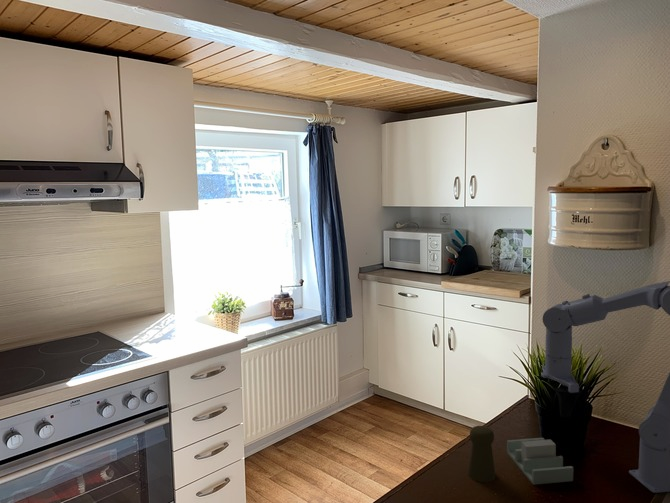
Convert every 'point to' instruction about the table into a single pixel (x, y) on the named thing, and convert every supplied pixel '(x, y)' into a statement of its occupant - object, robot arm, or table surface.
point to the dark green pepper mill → (481, 455)
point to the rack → (540, 465)
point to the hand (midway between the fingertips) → (557, 409)
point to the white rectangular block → (537, 449)
